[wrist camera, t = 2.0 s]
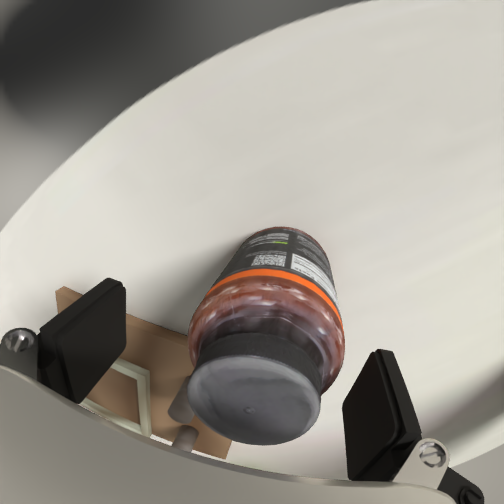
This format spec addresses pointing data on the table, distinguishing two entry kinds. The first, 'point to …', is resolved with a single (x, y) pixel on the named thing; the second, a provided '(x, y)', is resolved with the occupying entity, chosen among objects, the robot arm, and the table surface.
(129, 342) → the pin board
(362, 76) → the table surface
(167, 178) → the table surface
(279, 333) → the supplement bottle
